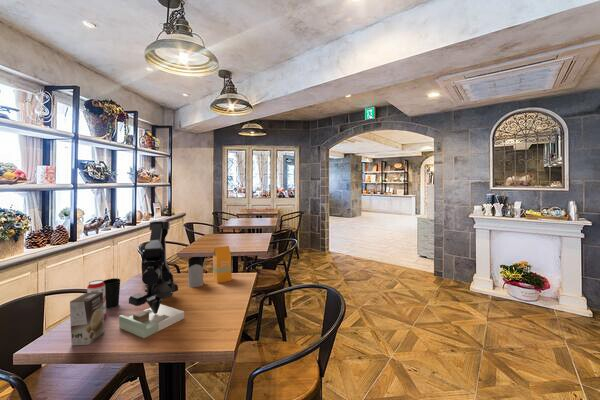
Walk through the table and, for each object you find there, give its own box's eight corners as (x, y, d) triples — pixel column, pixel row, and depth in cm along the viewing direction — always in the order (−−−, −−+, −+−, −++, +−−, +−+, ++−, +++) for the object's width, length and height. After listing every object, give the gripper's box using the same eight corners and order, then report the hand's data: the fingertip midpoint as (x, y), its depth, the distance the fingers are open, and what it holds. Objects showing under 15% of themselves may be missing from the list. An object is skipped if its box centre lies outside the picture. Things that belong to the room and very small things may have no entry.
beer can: (87, 323, 118) (85, 285, 117) (90, 317, 124) (88, 280, 123) (105, 320, 121) (103, 283, 120) (107, 314, 127) (105, 278, 126)
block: (133, 321, 114) (133, 314, 114) (142, 317, 117) (142, 310, 117) (139, 324, 112) (139, 316, 112) (149, 319, 115) (148, 312, 115)
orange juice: (231, 280, 171) (231, 247, 169) (217, 283, 166) (216, 249, 164) (227, 276, 177) (226, 244, 176) (212, 279, 172) (212, 246, 171)
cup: (111, 310, 131) (110, 284, 130) (97, 308, 132) (96, 283, 131) (125, 303, 138) (124, 278, 137) (111, 301, 140) (110, 277, 139)
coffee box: (89, 345, 103) (87, 301, 102) (70, 345, 102) (68, 302, 101) (105, 331, 112) (103, 291, 111) (87, 332, 111) (85, 292, 110)
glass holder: (187, 288, 158) (187, 261, 157) (187, 279, 171) (187, 255, 170) (204, 286, 161) (203, 259, 160) (203, 278, 175) (202, 253, 174)
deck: (119, 327, 115) (118, 315, 115) (159, 310, 131) (159, 299, 130) (144, 338, 107) (143, 325, 107) (184, 318, 123) (183, 306, 123)
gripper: (144, 287, 107) (146, 328, 108) (186, 273, 123) (187, 308, 124) (127, 282, 112) (128, 321, 113) (169, 269, 129) (170, 303, 130)
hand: (155, 313), depth 120 cm, fingers closed
